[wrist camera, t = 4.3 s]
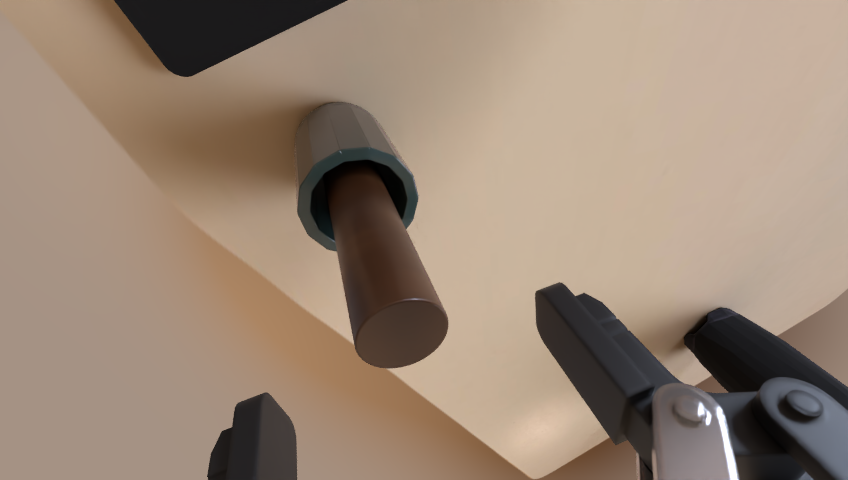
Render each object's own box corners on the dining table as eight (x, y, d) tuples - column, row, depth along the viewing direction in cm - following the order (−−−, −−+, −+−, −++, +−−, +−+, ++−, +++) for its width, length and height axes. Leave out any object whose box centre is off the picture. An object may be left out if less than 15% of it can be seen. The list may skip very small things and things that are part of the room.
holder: (315, 199, 26) (324, 269, 20) (278, 117, 23) (275, 170, 16) (394, 173, 27) (427, 233, 21) (371, 89, 23) (402, 130, 17)
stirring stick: (328, 178, 25) (371, 381, 13) (311, 136, 23) (340, 322, 11) (371, 164, 26) (455, 348, 13) (358, 121, 24) (440, 286, 11)
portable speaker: (742, 294, 52) (937, 428, 36) (722, 337, 58) (883, 469, 42) (689, 316, 51) (866, 464, 35) (674, 358, 56) (821, 500, 41)
